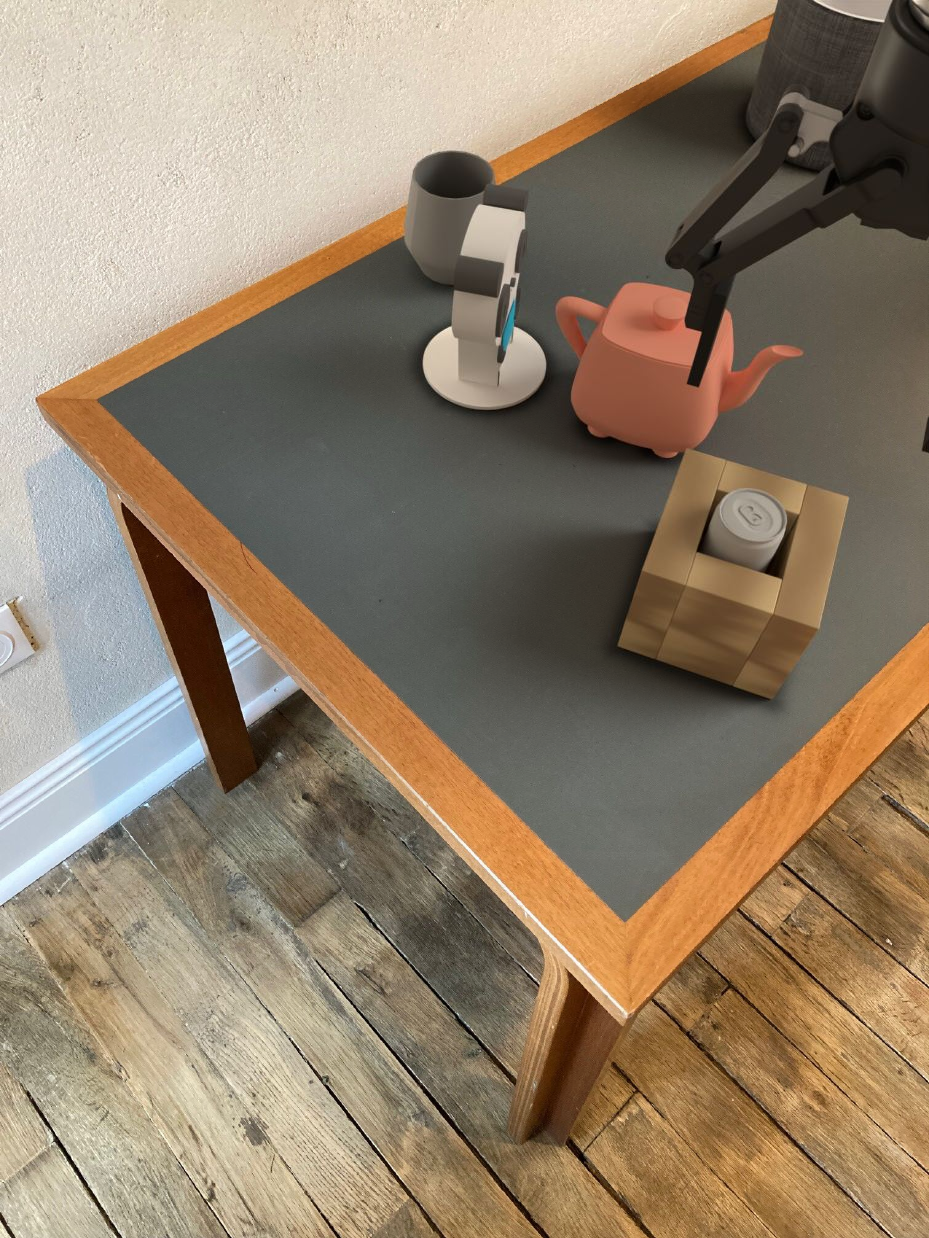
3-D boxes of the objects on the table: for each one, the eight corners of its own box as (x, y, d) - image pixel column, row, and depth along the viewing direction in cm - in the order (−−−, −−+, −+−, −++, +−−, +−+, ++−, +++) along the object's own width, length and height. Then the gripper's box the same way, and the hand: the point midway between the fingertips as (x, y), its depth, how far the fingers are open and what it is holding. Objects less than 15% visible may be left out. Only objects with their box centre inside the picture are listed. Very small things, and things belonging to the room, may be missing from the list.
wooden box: (802, 576, 75) (849, 496, 66) (772, 700, 69) (819, 629, 60) (658, 530, 77) (686, 447, 69) (617, 646, 71) (641, 570, 63)
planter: (845, 76, 115) (899, -72, 102) (931, 157, 106) (1002, 7, 93) (717, 101, 111) (755, -49, 98) (795, 187, 103) (849, 35, 89)
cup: (466, 227, 97) (468, 133, 89) (517, 277, 93) (525, 184, 85) (387, 257, 95) (382, 164, 86) (437, 311, 90) (437, 218, 82)
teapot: (522, 428, 83) (534, 319, 72) (566, 343, 89) (583, 231, 78) (744, 499, 79) (790, 395, 69) (775, 406, 85) (821, 297, 75)
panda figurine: (530, 425, 83) (547, 284, 70) (406, 401, 84) (401, 257, 71) (556, 335, 89) (576, 190, 76) (440, 313, 90) (441, 167, 78)
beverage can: (702, 646, 71) (746, 553, 61) (665, 599, 73) (702, 502, 63) (752, 621, 73) (804, 526, 62) (715, 575, 75) (758, 476, 65)
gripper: (657, -11, 37) (588, 386, 55) (1355, 133, 32) (1030, 514, 51) (704, -90, 41) (624, 306, 59) (1335, 30, 36) (1039, 419, 54)
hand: (811, 403), depth 55 cm, fingers open, 13 cm apart
